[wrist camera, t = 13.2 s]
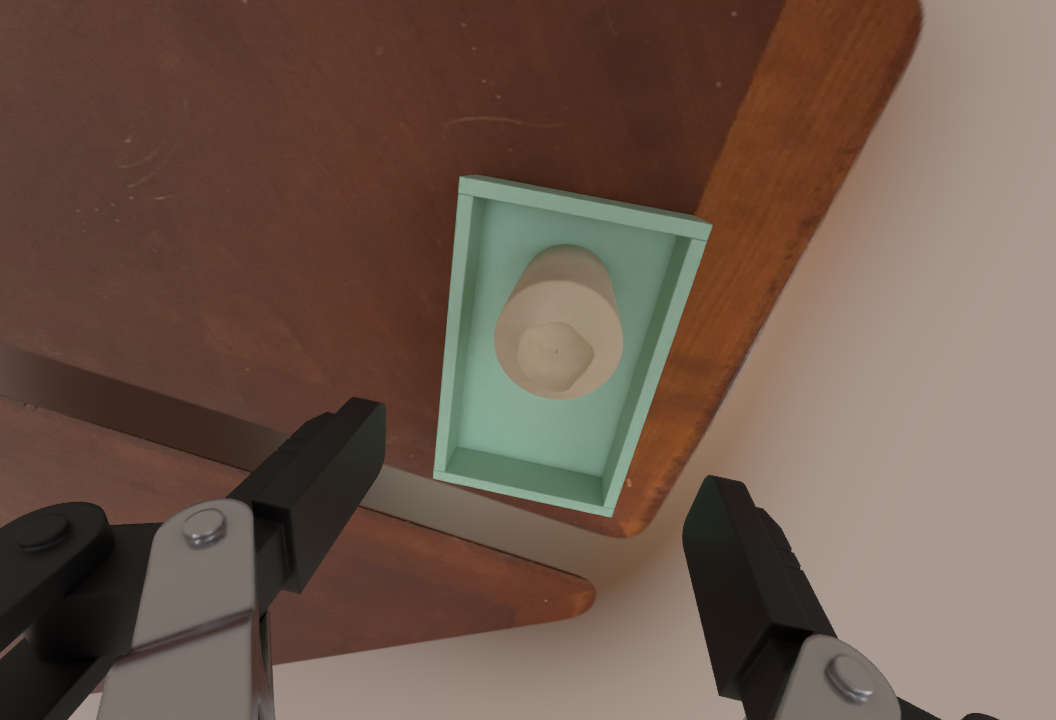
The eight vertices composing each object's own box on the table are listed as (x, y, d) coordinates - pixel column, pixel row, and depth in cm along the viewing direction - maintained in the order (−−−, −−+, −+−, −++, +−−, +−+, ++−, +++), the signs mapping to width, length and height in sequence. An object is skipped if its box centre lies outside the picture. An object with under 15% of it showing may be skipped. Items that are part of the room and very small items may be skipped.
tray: (476, 174, 24) (459, 176, 21) (696, 215, 24) (713, 224, 21) (447, 447, 33) (432, 478, 30) (609, 482, 32) (611, 518, 29)
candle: (609, 237, 24) (622, 282, 15) (614, 327, 26) (629, 414, 17) (514, 249, 25) (474, 298, 16) (527, 335, 27) (499, 421, 18)
